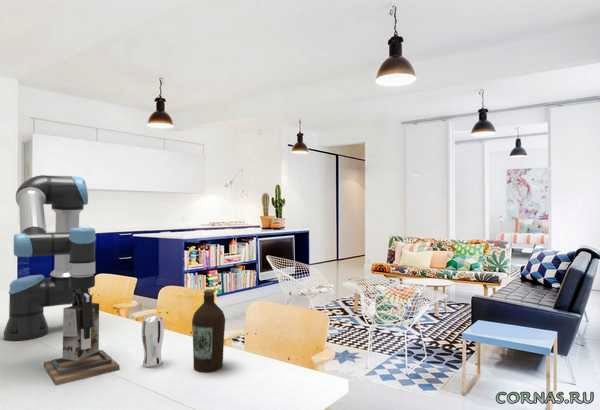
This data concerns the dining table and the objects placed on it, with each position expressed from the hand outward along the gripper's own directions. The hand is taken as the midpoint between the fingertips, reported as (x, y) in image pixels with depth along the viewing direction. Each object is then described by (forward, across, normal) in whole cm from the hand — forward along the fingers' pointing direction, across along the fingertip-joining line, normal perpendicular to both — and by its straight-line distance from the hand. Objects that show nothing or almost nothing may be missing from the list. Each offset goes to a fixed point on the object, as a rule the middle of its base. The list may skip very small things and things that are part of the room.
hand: (81, 344), depth 135 cm
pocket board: (+8, 0, 0) cm, 8 cm away
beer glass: (+8, +11, +19) cm, 23 cm away
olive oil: (+8, +25, +32) cm, 41 cm away
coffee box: (+4, 0, 0) cm, 4 cm away
